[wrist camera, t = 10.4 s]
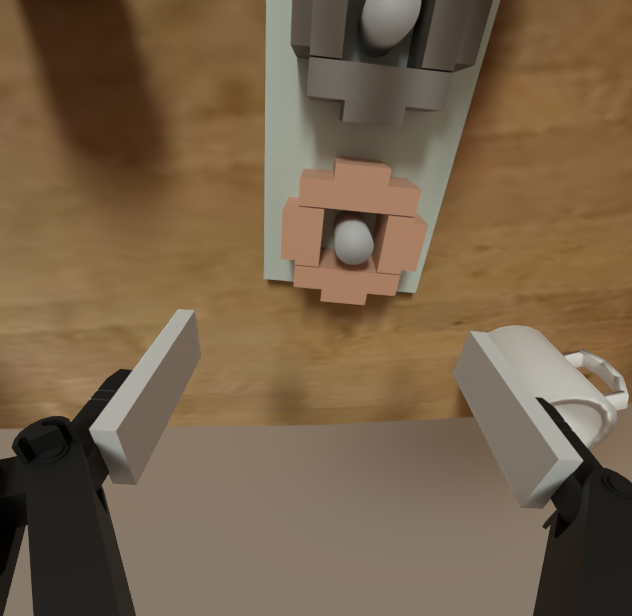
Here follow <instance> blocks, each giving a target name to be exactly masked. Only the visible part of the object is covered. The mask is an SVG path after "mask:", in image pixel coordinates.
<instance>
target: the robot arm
mask: <svg viewBox="0 0 632 616" xmlns="http://www.w3.org/2000/svg"><path fill="white" fill-rule="evenodd" d="M200 357H201V353H200V346H199V339H198V331H197V324H196V317H195V310H182V309H178V310H177V311H176V313H175V314H174V315H173V317H172V318H171V319H170V321H169V322H168V323H167V325H166V326H165V327H164V329H163V330H162V332H161V333H160V334H159V336H158V337H157V338H156V340H155V341H154V342H153V344H152V345H151V346H150V348H149V349H148V350H147V352H146V353H145V354H144V356H143V357H142V358H141V360H140V361H139V363H138V364H137V365H136V367H135V368H134V369H133V370H126V369H120V370H118V371H117V372H115V373H114V374H113V375H111V376H110V377H108V378H107V379H106V380H105V381H104V383H103V384H102V385H101V386H100V388H99V389H98V391H96V393H95V394H94V395H93V396H92V397H91V400H89V401H88V402H87V404H86V405H85V406H84V407H83V408H82V410H81V411H80V412H79V413H78V415H77V416H76V417H75V418H74V419H73V421H72V422H70V420H69V419H68V418H65V417H63V416H52V417H48V418H44V419H41V420H39V421H37V422H35V423H33V424H30V425H29V426H28V427H26V428H25V429H24V430H22V431H21V432H20V433H19V434H18V436H17V437H16V438H15V439H14V442H13V445H12V449H13V450H14V452H15V453H16V455H17V456H16V457H11V458H6V459H1V460H0V616H3V613H4V610H5V606H6V602H7V598H8V594H9V590H10V586H11V582H12V578H13V574H14V570H15V566H16V562H17V558H18V555H19V550H20V547H21V543H22V539H23V535H24V531H25V527H26V525H28V536H29V551H30V566H31V583H32V596H33V597H32V598H33V613H34V616H136V614H135V610H134V606H133V602H132V598H131V594H130V591H129V587H128V583H127V579H126V575H125V571H124V567H123V563H122V559H121V555H120V552H119V548H118V544H117V540H116V536H115V532H114V528H113V524H112V521H111V517H110V513H109V509H108V505H107V501H106V497H105V494H104V490H103V488H102V484H103V482H104V480H105V479H106V477H107V475H108V474H109V475H110V478H111V480H112V482H113V483H114V484H115V483H116V484H132V485H136V484H137V482H138V480H139V478H140V476H141V474H142V472H143V470H144V468H145V466H146V464H147V462H148V460H149V459H150V456H151V454H152V453H153V450H154V448H155V446H156V445H157V442H158V440H159V439H160V437H161V435H162V433H163V431H164V429H165V427H166V425H167V423H168V421H169V419H170V417H171V415H172V413H173V411H174V409H175V407H176V405H177V403H178V401H179V399H180V397H181V395H182V393H183V391H184V389H185V387H186V385H187V383H188V381H189V379H190V377H191V375H192V373H193V371H194V369H195V367H196V365H197V363H198V361H199V359H200ZM453 376H454V378H455V380H456V382H457V384H458V386H459V387H460V389H461V391H462V393H463V395H464V397H465V399H466V401H467V403H468V405H469V407H470V409H471V411H472V413H473V415H474V417H475V419H476V421H477V423H478V425H479V427H480V429H481V431H482V432H483V434H484V436H485V438H486V440H487V442H488V444H489V446H490V448H491V450H492V452H493V454H494V456H495V458H496V460H497V462H498V464H499V466H500V468H501V470H502V472H503V474H504V476H505V478H506V480H507V482H508V484H509V485H510V487H511V489H512V491H513V493H514V495H515V497H516V499H517V501H518V503H519V505H520V507H522V508H539V509H540V508H541V509H542V508H543V507H544V506H545V505H546V504H547V503H548V501H549V500H550V499H551V500H552V502H553V504H554V505H555V507H556V508H557V510H556V511H555V512H554V513H553V514H552V515H551V516H550V517H549V518H548V520H547V521H546V522H545V523H544V525H543V528H545V529H547V527H548V526H549V525H551V526H550V531H549V536H548V541H547V547H546V551H545V557H544V562H543V567H542V573H541V577H540V582H539V588H538V593H537V598H536V603H535V608H534V613H533V616H632V483H631V482H630V481H629V480H628V479H626V478H625V477H623V476H622V475H620V474H618V473H617V472H615V471H612V470H610V469H607V468H603V467H602V466H601V465H600V463H599V462H598V461H597V459H596V458H595V457H594V456H593V454H592V453H591V452H590V451H589V449H588V448H587V447H586V446H585V444H584V443H583V442H582V441H581V439H580V438H579V437H578V436H577V435H576V433H575V432H574V431H572V428H571V427H570V426H569V425H568V423H567V422H565V421H564V418H563V417H562V416H561V415H560V413H559V412H558V411H557V410H556V408H555V407H553V406H552V405H551V404H550V403H548V402H547V401H546V400H545V399H543V398H541V397H534V395H533V394H532V393H531V391H530V390H529V389H528V387H527V386H526V385H525V383H524V382H523V381H522V379H521V378H520V377H519V376H518V374H517V373H516V372H515V370H514V369H513V368H512V366H511V365H510V364H509V362H508V361H507V360H506V358H505V357H504V356H503V354H502V353H501V352H500V351H499V349H498V348H497V347H496V345H495V344H494V343H493V341H492V340H491V339H490V337H489V336H488V335H487V333H486V332H474V331H470V332H469V335H468V337H467V340H466V342H465V345H464V347H463V350H462V352H461V354H460V357H459V359H458V362H457V364H456V367H455V369H454V372H453Z"/></svg>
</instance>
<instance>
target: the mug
mask: <svg viewBox="0 0 632 616" xmlns="http://www.w3.org/2000/svg"><path fill="white" fill-rule="evenodd" d="M487 335H488V336H489V337H490V339H491V340H492V341H493V343H494V344H495V345H496V347H497V348H498V349H499V351H500V352H501V353H502V354H503V356H504V357H505V358H506V360H507V361H508V362H509V364H510V365H511V366H512V368H513V369H514V370H515V372H516V373H517V374H518V376H519V377H520V378H521V379H522V381H523V382H524V383H525V385H526V386H527V387H528V389H529V390H530V391H531V393H532V394H533V395H534V397H541V398H543V399H545V400H546V401H547V402H548V403H550V404H551V405H552V406H553V407H555V408H556V410H557V411H558V412H559V413H560V415H561V416H562V417H563V418H564V421H565V422H567V423H568V425H569V426H570V427H571V428H572V431H574V432H575V433H576V435H577V436H578V437H579V438H580V439H581V441H582V442H583V443H584V444H585V446H586V447H587V448H588V449H589V450H591V449H593V448H594V447H596V446H597V445H598V444H600V443H601V442H603V441H604V440H605V439H606V438H607V437H608V435H609V434H610V433H611V432H612V431H613V429H614V427H615V424H616V422H617V413H616V410H621V409H625V408H627V404H628V397H629V395H628V391H627V388H626V385H625V382H624V379H623V376H622V375H621V374H619V373H618V372H617V371H616V370H615V369H614V368H613V367H612V366H611V365H610V364H609V363H608V362H607V361H606V360H604V359H602V358H600V357H598V356H596V355H594V354H592V353H590V352H588V351H586V350H584V349H582V350H578V351H574V352H570V353H566V354H561V353H560V352H559V351H558V350H557V349H556V348H555V347H554V346H553V345H552V344H551V343H550V342H549V341H548V340H547V339H546V338H545V337H544V336H543V335H542V334H541V333H540V332H539V331H537V330H535V329H532V328H530V327H527V326H516V325H514V326H507V327H501V328H498V329H496V330H493V331H491V332H488V333H487ZM581 366H583V367H584V368H586V369H588V370H590V371H592V372H593V373H595V374H597V375H598V376H599V377H600V378H601V379H602V380H603V381H604V382H605V383H606V384H607V385H608V386H609V387H610V388H611V389H612V390H613V392H612V393H607V394H601V393H600V392H599V391H598V390H597V389H596V388H595V387H594V386H593V385H592V384H591V383H590V382H589V381H588V380H587V379H586V378H585V377H584V376H583V375H582V374H581V373H580V372H579V371H578V370H577V369H576V368H577V367H581Z"/></svg>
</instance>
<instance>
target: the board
mask: <svg viewBox="0 0 632 616" xmlns="http://www.w3.org/2000/svg"><path fill="white" fill-rule="evenodd" d="M499 3H500V0H493V2H492V5H491V9H490V13H489V16H488V20H487V23H486V27H485V30H484V34H483V37H482V41H481V45H480V48H479V52H478V55H477V59H476V62H475V65H474V66H471V67H468V68H465V69H463V70H460V71H457V72H454V73H453V75H452V79H451V83H450V87H449V91H448V95H447V99H446V103H445V106H444V110H443V111H430V112H420V111H410V110H405V113H404V118H403V123H402V128H401V127H392V126H382V125H373V124H364V123H355V122H345V121H340V113H341V104H342V103H337V102H328V101H319V100H310V99H309V98H308V96H307V86H308V71H309V59H304V58H297V57H296V55H295V53H294V51H293V49H292V47H291V44H290V41H291V16H292V0H266V83H265V207H264V279H271V280H282V281H292V282H294V270H295V260H286V259H281V238H282V210H283V208H284V206H285V204H286V202H287V200H288V197H297V198H299V187H300V177H301V174H302V172H303V169H304V168H307V169H317V170H327V171H333V163H334V156H340V157H350V158H360V159H369V160H379V161H382V162H383V163H385V164H386V165H387V166H389V167H390V168H391V175H390V177H396V178H406V179H408V180H409V181H411V182H412V183H413V184H415V185H416V186H417V187H419V188H420V189H421V190H422V191H421V195H420V199H419V203H418V206H417V210H416V212H417V213H418V215H419V216H420V217H421V218H422V219H423V220H424V221H425V222H426V223H427V224H428V228H427V232H426V236H425V239H424V243H423V246H422V250H421V254H420V257H419V261H418V265H417V268H416V272H414V271H404V270H401V274H400V278H399V282H398V286H397V290H396V291H399V292H410V293H416V290H417V286H418V283H419V279H420V276H421V272H422V269H423V265H424V262H425V259H426V255H427V252H428V248H429V245H430V241H431V238H432V234H433V231H434V227H435V224H436V221H437V217H438V214H439V210H440V207H441V203H442V200H443V196H444V193H445V189H446V186H447V183H448V179H449V176H450V172H451V169H452V165H453V162H454V158H455V155H456V152H457V148H458V145H459V141H460V138H461V134H462V131H463V127H464V124H465V120H466V117H467V114H468V110H469V107H470V103H471V100H472V96H473V93H474V89H475V86H476V82H477V79H478V76H479V72H480V69H481V65H482V62H483V58H484V55H485V51H486V48H487V44H488V41H489V38H490V34H491V31H492V27H493V24H494V20H495V17H496V13H497V10H498V7H499ZM420 7H421V0H348V5H347V15H346V24H345V33H344V43H343V52H342V61H351V62H359V63H368V64H377V65H386V66H395V67H404V68H406V66H407V61H408V56H409V50H410V45H411V40H412V35H413V30H414V24H415V23H416V20H417V18H418V15H419V12H420ZM376 216H377V213H370V212H360V211H350V210H339V209H329V208H324V217H323V227H322V237H321V248H332V249H335V251H336V254H337V256H338V258H339V259H340V260H341V261H342V262H344V263H346V264H350V265H357V264H361V263H363V262H365V261H366V260H367V259H368V258H369V257H370V256H371V254H372V252H373V248H374V243H373V239H372V237H373V232H374V227H375V222H376Z"/></svg>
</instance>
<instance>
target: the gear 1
mask: <svg viewBox="0 0 632 616" xmlns="http://www.w3.org/2000/svg"><path fill="white" fill-rule="evenodd" d="M492 2H493V0H421V7H420V12H419V15H418V18H417V20H416V23H415V24H414V30H413V35H412V40H411V45H410V50H409V56H408V61H407V66H406V68H404V67H395V66H386V65H377V64H368V63H359V62H351V61H342V52H343V43H344V33H345V24H346V15H347V5H348V0H292V16H291V41H290V44H291V47H292V49H293V51H294V53H295V55H296V57H297V58H304V59H309V71H308V86H307V96H308V98H309V99H310V100H319V101H328V102H337V103H342V104H341V113H340V121H345V122H355V123H364V124H373V125H382V126H392V127H401V128H402V123H403V118H404V113H405V110H410V111H420V112H430V111H443V110H444V106H445V103H446V99H447V95H448V91H449V87H450V83H451V79H452V75H453V73H454V72H457V71H460V70H463V69H465V68H468V67H471V66H474V65H475V62H476V59H477V55H478V52H479V48H480V45H481V41H482V37H483V34H484V30H485V27H486V23H487V20H488V16H489V13H490V9H491V5H492Z"/></svg>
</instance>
